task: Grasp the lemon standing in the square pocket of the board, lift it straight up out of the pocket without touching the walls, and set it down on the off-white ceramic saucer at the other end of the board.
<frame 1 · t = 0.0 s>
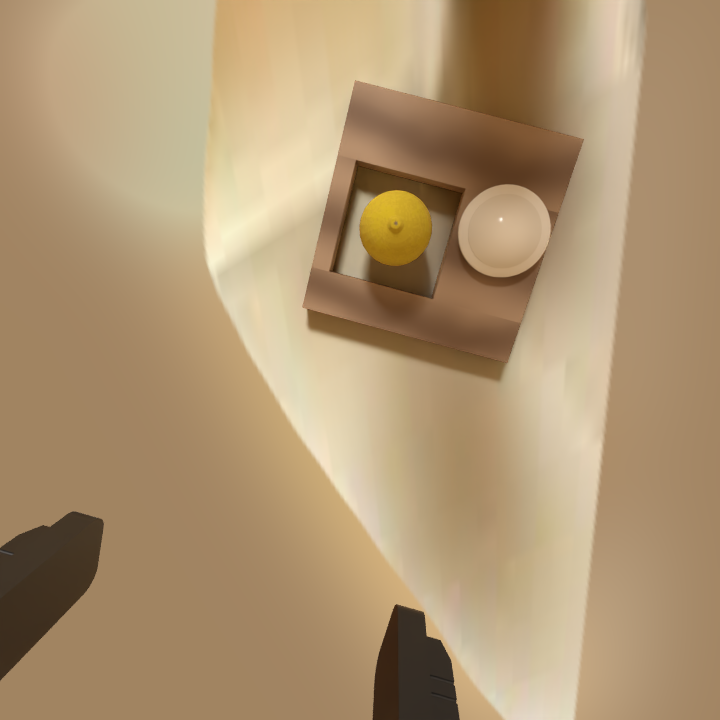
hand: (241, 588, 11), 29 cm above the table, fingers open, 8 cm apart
saucer: (501, 232, 35), resting on pocket board
lemon: (395, 233, 38), resting in pocket board
pocket board: (432, 230, 37), on the table
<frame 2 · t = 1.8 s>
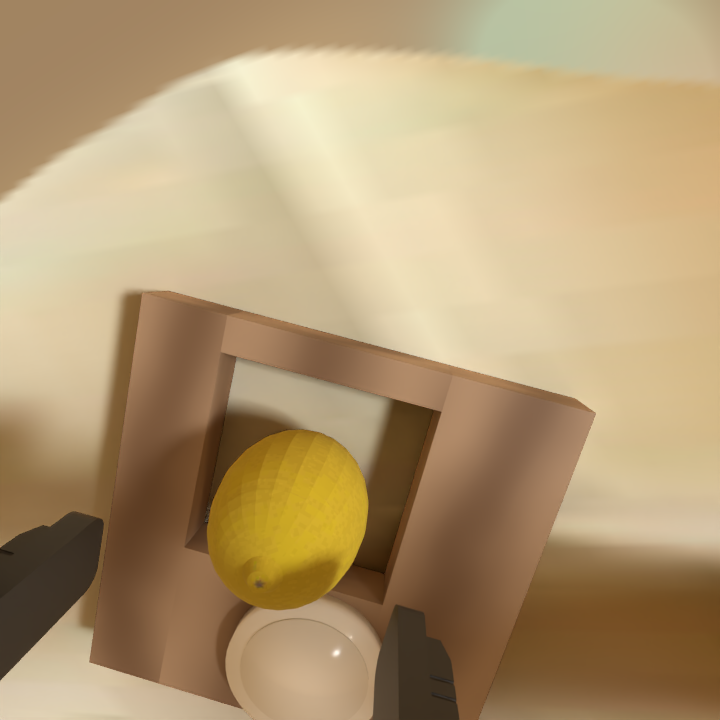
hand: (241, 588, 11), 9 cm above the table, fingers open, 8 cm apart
saucer: (307, 658, 20), resting on pocket board
lemon: (315, 461, 20), resting in pocket board
pocket board: (320, 526, 21), on the table
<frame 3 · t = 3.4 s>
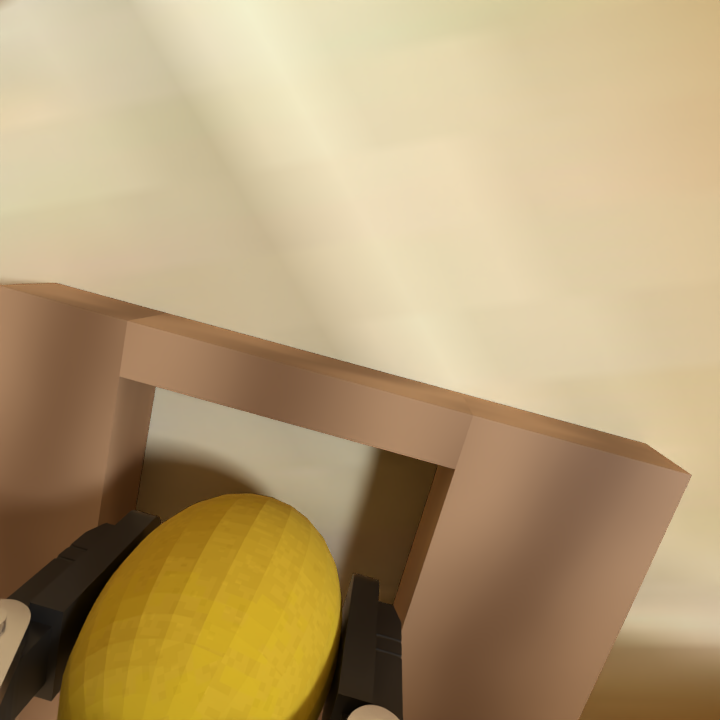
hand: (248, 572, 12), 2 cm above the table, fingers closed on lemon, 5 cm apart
lemon: (272, 525, 14), resting in pocket board, touching gripper
pocket board: (280, 613, 15), on the table
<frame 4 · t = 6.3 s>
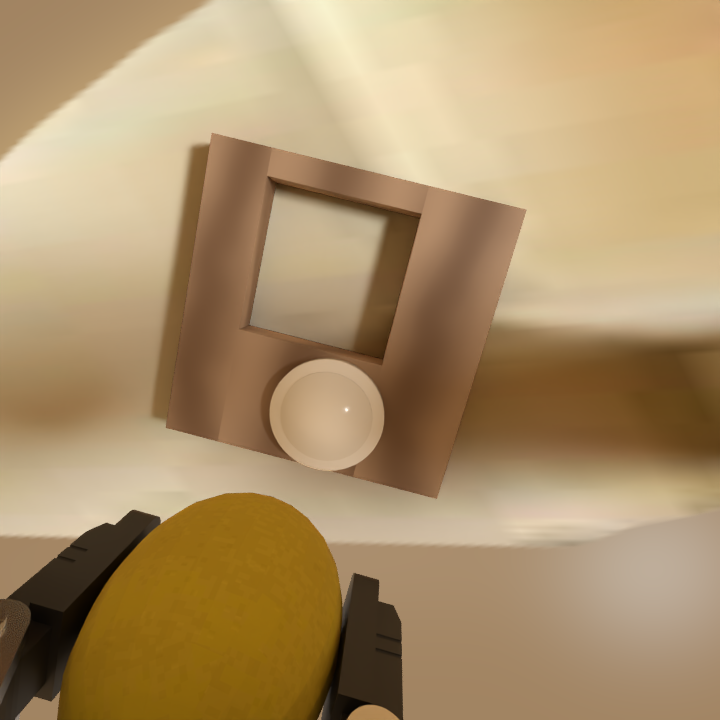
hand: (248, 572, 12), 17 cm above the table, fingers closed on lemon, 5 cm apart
saucer: (328, 412, 27), resting on pocket board
lemon: (272, 524, 14), point 15 cm above the table, touching gripper
pocket board: (335, 323, 28), on the table
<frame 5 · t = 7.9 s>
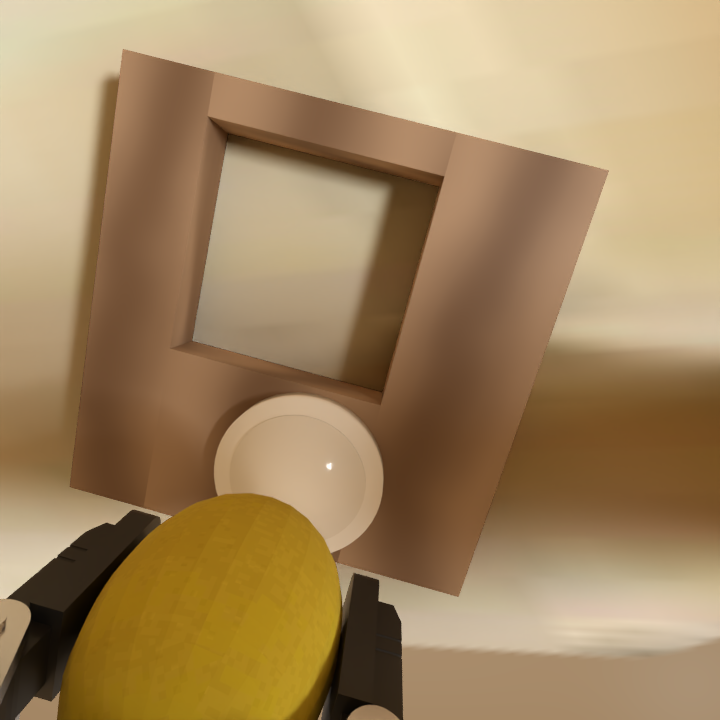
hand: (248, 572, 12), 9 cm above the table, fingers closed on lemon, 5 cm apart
saucer: (301, 471, 19), resting on pocket board
lemon: (272, 524, 14), point 6 cm above the table, touching gripper
pocket board: (315, 340, 20), on the table
when the fingers open (6 cm above the table, at t = 9.3 s): lemon drops 1 cm, resting on saucer.
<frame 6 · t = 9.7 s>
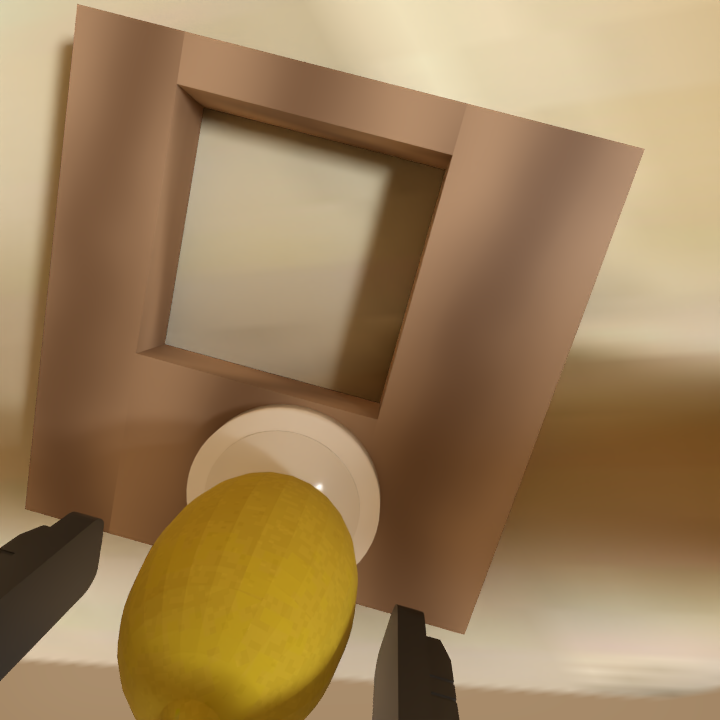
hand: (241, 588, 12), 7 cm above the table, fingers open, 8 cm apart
saucer: (287, 493, 16), resting on pocket board
lemon: (289, 504, 16), point 3 cm above the table, touching saucer
pocket board: (303, 344, 17), on the table
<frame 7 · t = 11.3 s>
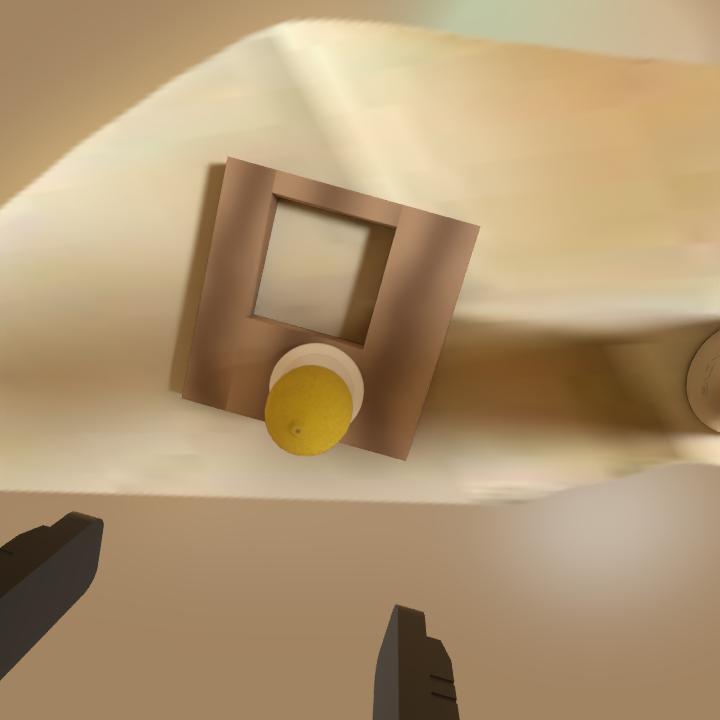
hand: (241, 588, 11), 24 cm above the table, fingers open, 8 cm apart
saucer: (317, 388, 33), resting on pocket board
lemon: (320, 391, 32), point 3 cm above the table, touching saucer
pocket board: (325, 314, 34), on the table
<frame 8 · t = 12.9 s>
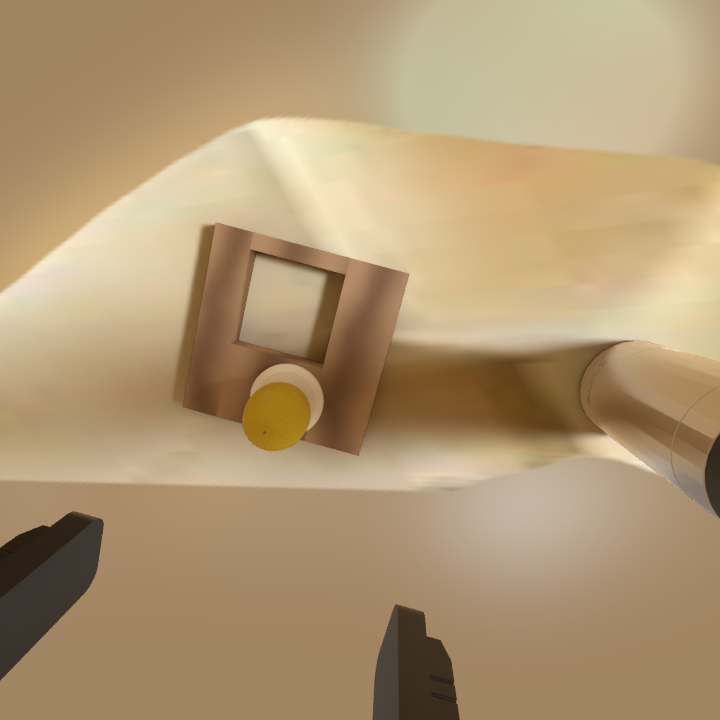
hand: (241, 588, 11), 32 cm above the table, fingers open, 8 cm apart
saucer: (288, 398, 42), resting on pocket board
lemon: (289, 401, 41), point 3 cm above the table, touching saucer
pocket board: (294, 340, 43), on the table
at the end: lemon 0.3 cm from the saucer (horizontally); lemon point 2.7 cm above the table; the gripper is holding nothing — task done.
